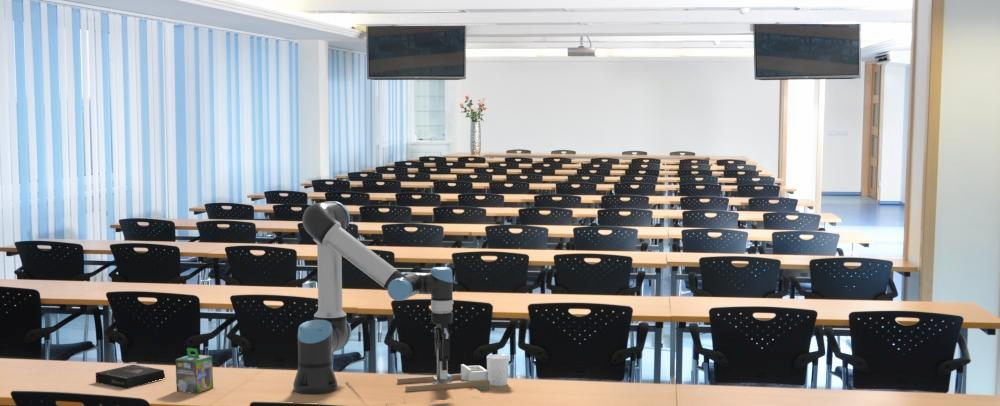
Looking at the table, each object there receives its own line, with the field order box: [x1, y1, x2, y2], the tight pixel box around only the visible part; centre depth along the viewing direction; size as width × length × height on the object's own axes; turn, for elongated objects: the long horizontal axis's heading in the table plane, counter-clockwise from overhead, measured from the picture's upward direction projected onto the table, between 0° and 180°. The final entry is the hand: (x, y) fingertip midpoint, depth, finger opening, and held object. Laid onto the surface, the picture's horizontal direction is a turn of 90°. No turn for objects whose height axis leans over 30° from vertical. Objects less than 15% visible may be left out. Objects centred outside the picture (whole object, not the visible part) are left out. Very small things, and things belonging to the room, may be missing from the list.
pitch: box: [396, 373, 491, 393], centre depth 389 cm, size 30×13×3 cm, turn 109°
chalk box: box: [175, 347, 214, 394], centre depth 385 cm, size 9×9×15 cm
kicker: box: [432, 342, 453, 384], centre depth 389 cm, size 5×7×15 cm
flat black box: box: [95, 364, 166, 389], centre depth 398 cm, size 16×17×4 cm
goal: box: [460, 363, 488, 382], centre depth 393 cm, size 7×10×6 cm
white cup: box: [486, 353, 510, 387], centre depth 395 cm, size 8×8×10 cm
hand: (442, 377), depth 389 cm, fingers closed on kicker, 3 cm apart
